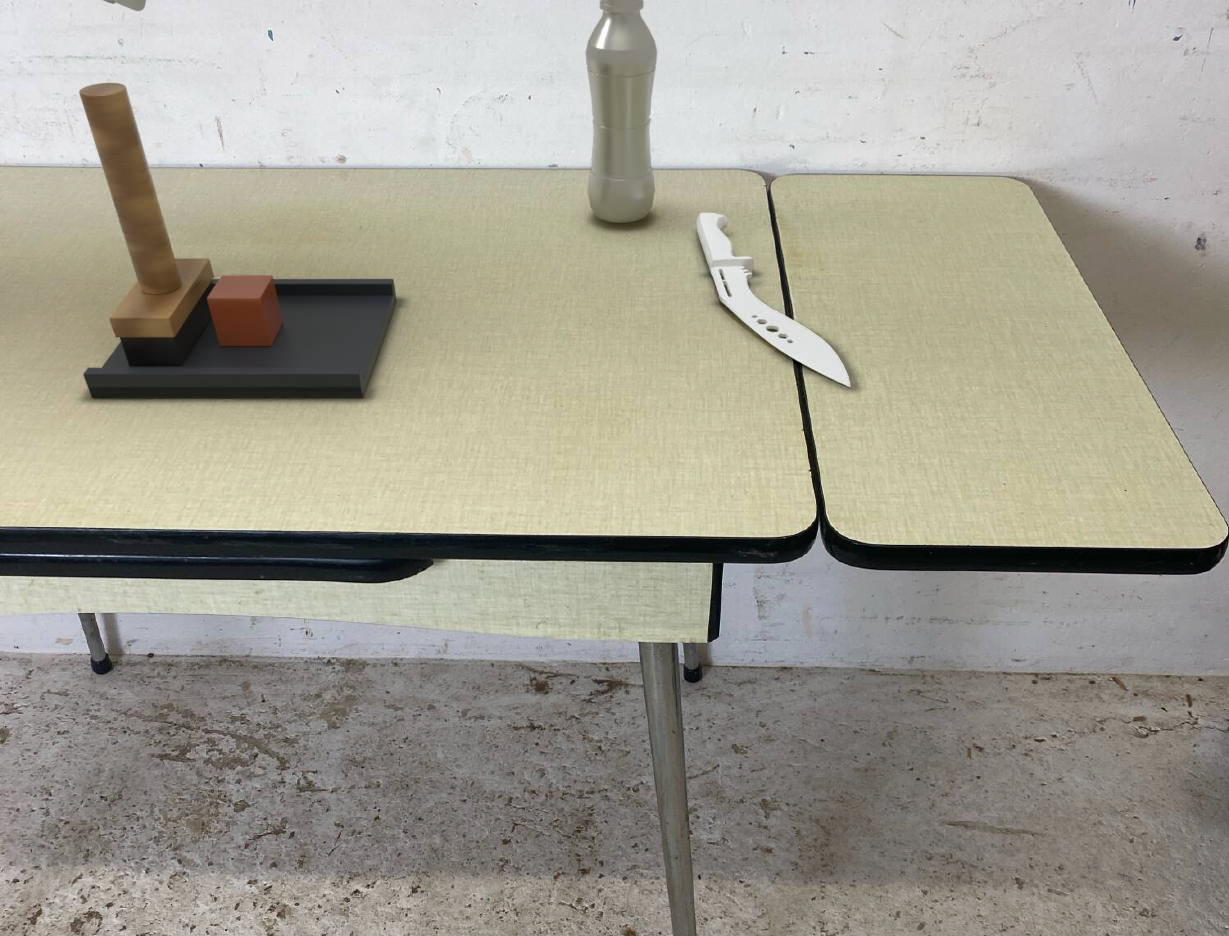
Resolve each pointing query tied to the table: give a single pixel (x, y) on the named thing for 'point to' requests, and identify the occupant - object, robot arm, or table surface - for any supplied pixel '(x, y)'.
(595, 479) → the table surface
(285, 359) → the tray
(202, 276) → the brush
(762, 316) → the knife
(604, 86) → the plastic bottle
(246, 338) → the block
